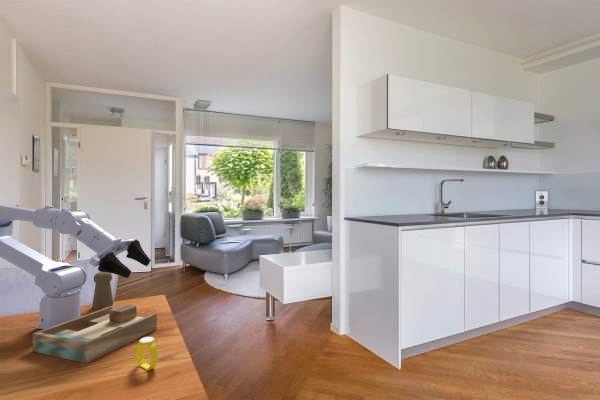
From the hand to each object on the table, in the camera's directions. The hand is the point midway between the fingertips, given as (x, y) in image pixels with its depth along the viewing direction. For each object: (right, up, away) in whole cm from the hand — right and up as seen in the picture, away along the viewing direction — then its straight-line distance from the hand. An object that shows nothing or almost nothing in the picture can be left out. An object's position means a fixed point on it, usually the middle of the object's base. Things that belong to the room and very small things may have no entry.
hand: (139, 268), depth 88 cm
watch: (+11, -17, -20) cm, 28 cm away
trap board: (-7, -16, -6) cm, 19 cm away
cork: (-21, -16, +19) cm, 32 cm away
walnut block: (-5, -14, 0) cm, 14 cm away
